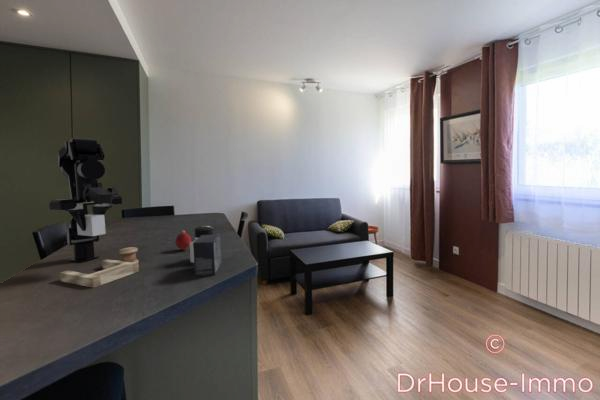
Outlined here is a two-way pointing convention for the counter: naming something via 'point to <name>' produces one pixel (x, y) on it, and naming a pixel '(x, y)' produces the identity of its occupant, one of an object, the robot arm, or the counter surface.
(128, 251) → the wooden spool
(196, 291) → the counter surface
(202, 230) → the medicine bottle
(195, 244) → the small box
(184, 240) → the onion
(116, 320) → the counter surface
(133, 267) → the notched board
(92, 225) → the tall pale grey block
